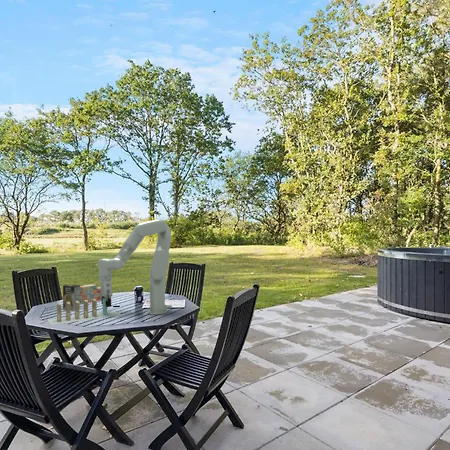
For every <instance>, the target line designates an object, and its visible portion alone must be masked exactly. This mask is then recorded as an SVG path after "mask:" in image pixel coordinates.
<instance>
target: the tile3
mask: <svg viewBox="0 0 450 450" xmlns="http://www.w3.org/2000/svg"><path fill="white" fill-rule="evenodd" d="M88 314H89V303H88V301H87V300H84V304H83V315H84V317H85V318H88Z"/></svg>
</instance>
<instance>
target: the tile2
mask: <svg viewBox="0 0 450 450" xmlns="http://www.w3.org/2000/svg"><path fill="white" fill-rule="evenodd" d="M97 311H98V301H97V300H95V299H92V302H91V314H92V316H93V317H97V313H98V312H97Z"/></svg>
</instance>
